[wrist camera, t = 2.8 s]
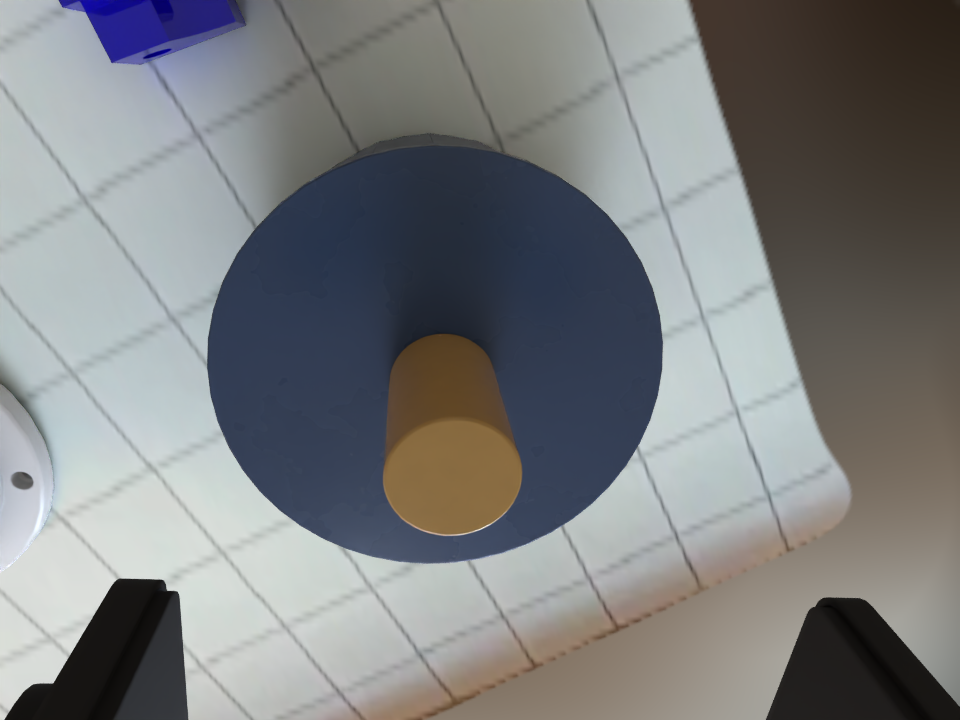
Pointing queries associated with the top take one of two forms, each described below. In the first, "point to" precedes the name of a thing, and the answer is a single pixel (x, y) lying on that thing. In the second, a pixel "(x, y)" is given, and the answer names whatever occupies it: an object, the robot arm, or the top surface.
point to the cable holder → (156, 25)
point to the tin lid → (434, 354)
